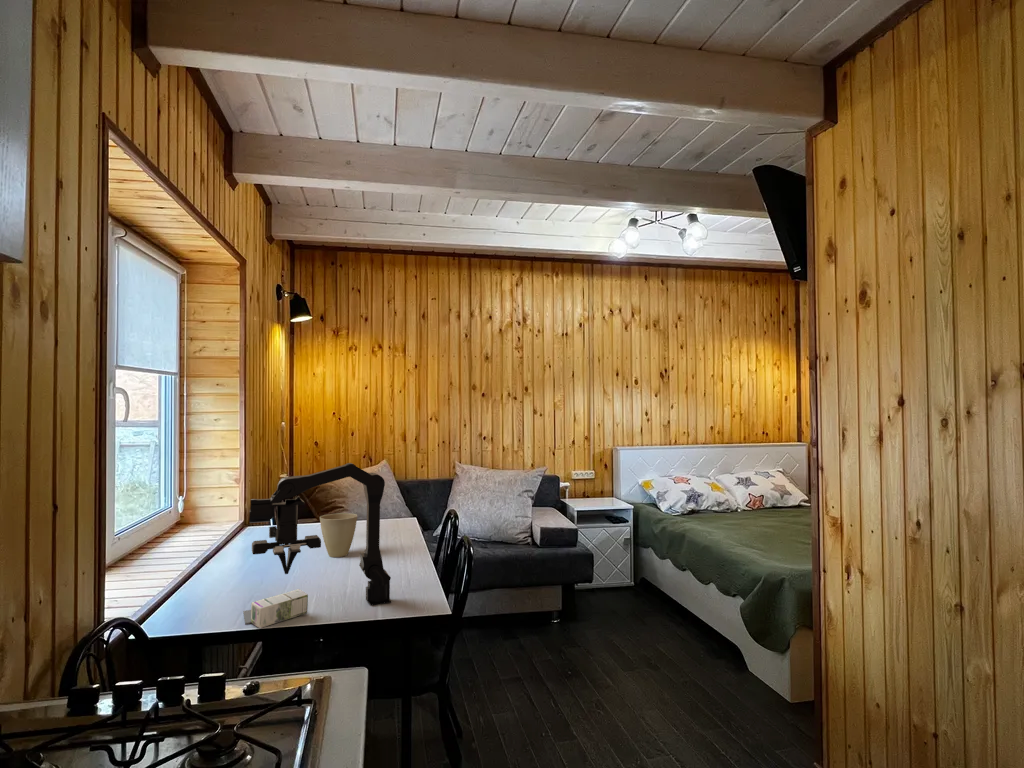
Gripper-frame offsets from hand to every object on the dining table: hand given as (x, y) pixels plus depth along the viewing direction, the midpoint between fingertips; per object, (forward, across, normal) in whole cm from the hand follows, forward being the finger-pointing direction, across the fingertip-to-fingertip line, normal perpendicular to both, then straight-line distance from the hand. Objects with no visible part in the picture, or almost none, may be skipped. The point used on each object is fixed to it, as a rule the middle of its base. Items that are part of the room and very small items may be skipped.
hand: (286, 573), depth 172 cm
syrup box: (+8, -5, +2) cm, 10 cm away
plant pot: (+12, -27, -63) cm, 70 cm away
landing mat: (+12, +4, -2) cm, 12 cm away
